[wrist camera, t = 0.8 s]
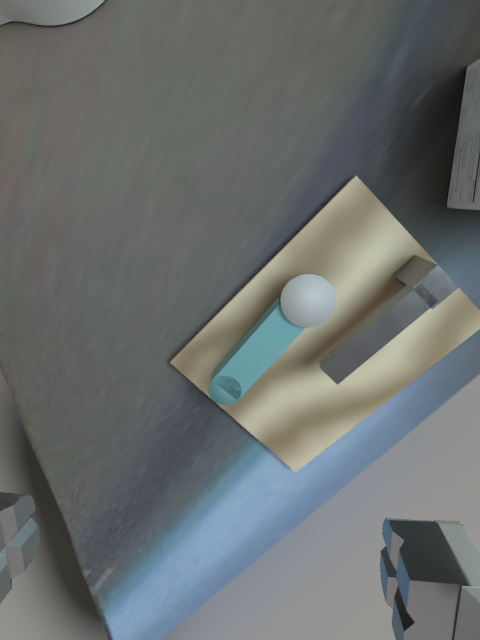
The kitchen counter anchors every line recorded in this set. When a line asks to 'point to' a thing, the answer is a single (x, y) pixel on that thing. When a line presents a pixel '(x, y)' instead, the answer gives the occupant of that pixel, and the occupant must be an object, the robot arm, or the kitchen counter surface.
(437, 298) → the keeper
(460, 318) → the base board
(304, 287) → the lever with ball knob
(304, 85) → the kitchen counter surface
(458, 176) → the light bulb box
